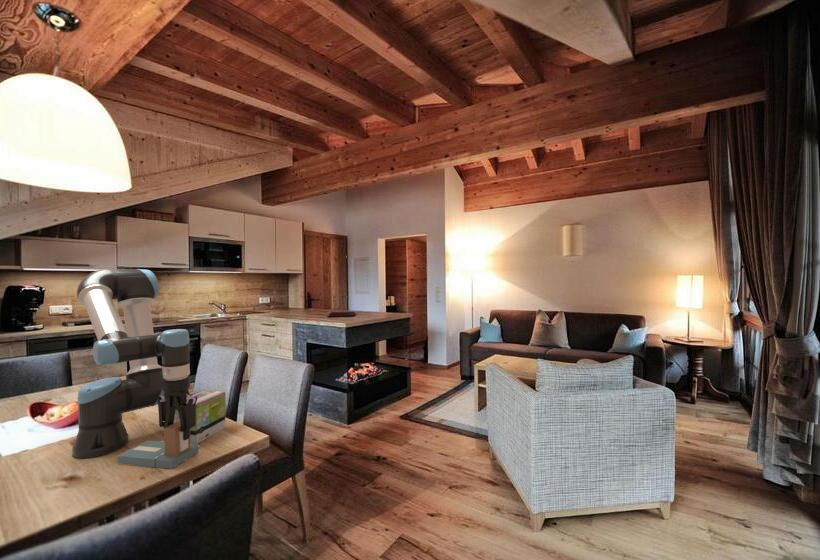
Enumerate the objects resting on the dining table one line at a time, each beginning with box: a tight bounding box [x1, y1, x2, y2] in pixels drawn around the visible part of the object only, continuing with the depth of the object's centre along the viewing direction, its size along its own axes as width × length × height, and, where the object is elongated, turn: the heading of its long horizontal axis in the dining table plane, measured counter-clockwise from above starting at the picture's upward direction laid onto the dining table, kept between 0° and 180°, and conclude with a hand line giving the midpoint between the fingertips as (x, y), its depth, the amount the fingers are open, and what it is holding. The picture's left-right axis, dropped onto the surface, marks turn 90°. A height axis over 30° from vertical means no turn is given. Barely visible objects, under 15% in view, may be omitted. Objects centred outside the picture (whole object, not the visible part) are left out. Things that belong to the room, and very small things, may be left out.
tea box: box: [173, 389, 226, 445], centre depth 138 cm, size 15×10×15 cm
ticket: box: [116, 439, 165, 468], centre depth 122 cm, size 14×11×3 cm
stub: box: [155, 421, 200, 470], centre depth 120 cm, size 6×11×11 cm, turn 169°
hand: (177, 448), depth 120 cm, fingers closed on stub, 4 cm apart
